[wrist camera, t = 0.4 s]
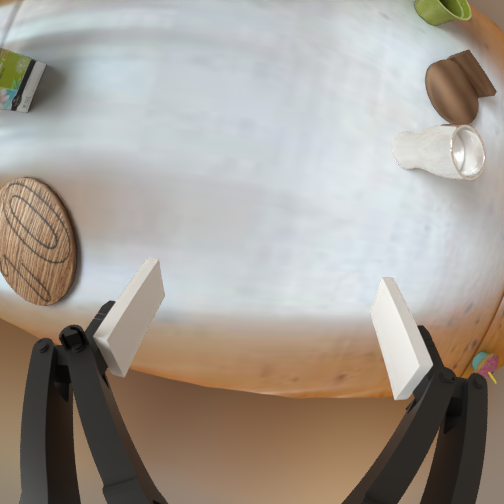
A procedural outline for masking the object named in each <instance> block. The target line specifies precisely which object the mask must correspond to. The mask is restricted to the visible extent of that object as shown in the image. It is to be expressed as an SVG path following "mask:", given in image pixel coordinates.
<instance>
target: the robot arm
mask: <svg viewBox="0 0 504 504" xmlns="http://www.w3.org/2000/svg"><path fill="white" fill-rule="evenodd" d="M164 297H165V293H164V288H163V282H162V276H161V269H160V263H159V259H153V258H147V259H146V261H145V262H144V263H143V265H142V266H141V267H140V269H139V270H138V271H137V273H136V274H135V275H134V277H133V278H132V280H131V281H130V282H129V284H128V285H127V287H126V288H125V289H124V291H123V292H122V294H121V295H120V297H119V298H118V300H117V301H109V302H107V303H106V304H104V305H103V306H102V307H101V309H100V310H99V312H98V314H97V315H96V316H95V317H94V319H93V320H92V322H91V323H90V325H89V326H88V328H87V329H86V331H85V332H84V331H83V329H82V327H80V326H79V325H70V326H68V327H66V328H64V329H63V330H62V331H61V333H60V335H59V340H60V341H61V343H62V345H54V343H53V341H52V340H51V339H49V338H43V339H40V340H39V341H37V342H36V343H35V345H34V347H33V350H32V355H31V359H30V364H29V370H28V375H27V382H26V388H25V395H24V403H23V412H22V424H21V443H20V468H21V488H22V493H21V497H20V502H19V504H81V502H80V495H79V489H78V482H77V474H76V465H75V454H74V439H73V392H74V396H75V400H76V404H77V408H78V412H79V415H80V418H81V422H82V426H83V429H84V432H85V436H86V438H87V442H88V444H89V447H90V450H91V453H92V456H93V458H94V461H95V464H96V466H97V469H98V471H99V474H100V476H101V478H102V481H103V484H104V487H103V494H104V497H105V499H106V501H107V503H108V504H168V503H167V502H166V500H165V498H164V497H163V496H162V495H161V493H160V492H159V491H158V489H157V488H156V486H155V485H154V483H153V481H152V479H151V477H150V476H149V474H148V472H147V470H146V468H145V466H144V465H143V462H142V461H141V458H140V456H139V454H138V452H137V450H136V448H135V446H134V444H133V442H132V440H131V437H130V435H129V433H128V431H127V429H126V426H125V424H124V422H123V419H122V417H121V414H120V412H119V409H118V406H117V404H116V401H115V399H114V396H113V393H112V390H111V388H110V385H109V382H108V379H107V376H106V374H105V371H106V369H107V368H109V370H110V372H111V374H114V375H117V376H121V377H125V375H126V373H127V371H128V369H129V367H130V364H131V362H132V360H133V358H134V356H135V354H136V352H137V350H138V348H139V346H140V344H141V342H142V340H143V338H144V336H145V334H146V332H147V330H148V328H149V326H150V324H151V322H152V320H153V318H154V316H155V314H156V312H157V310H158V308H159V306H160V304H161V302H162V300H163V299H164ZM370 315H371V318H372V321H373V324H374V327H375V331H376V334H377V337H378V340H379V344H380V347H381V350H382V354H383V357H384V361H385V364H386V368H387V372H388V375H389V379H390V383H391V387H392V391H393V395H394V399H395V400H401V399H407V398H409V396H410V395H411V394H412V393H413V394H414V397H415V398H414V400H413V401H412V402H411V403H410V404H409V406H408V407H407V408H406V410H407V409H408V410H407V411H406V413H405V415H404V417H403V419H402V420H401V422H400V424H399V425H398V427H397V429H396V431H395V432H394V434H393V435H392V437H391V438H390V440H389V442H388V443H387V445H386V446H385V448H384V449H383V451H382V452H381V454H380V455H379V456H378V458H377V459H376V461H375V462H374V464H373V465H372V466H371V468H370V469H369V470H368V472H367V473H366V474H365V476H364V477H363V478H362V480H361V481H360V482H359V484H358V485H357V486H356V487H355V488H354V490H353V491H352V492H351V493H350V494H349V496H348V497H347V498H346V499H345V500H344V501H343V502H342V504H397V503H398V502H399V500H400V499H401V497H402V496H403V494H404V493H405V491H406V490H407V488H408V486H409V485H410V483H411V481H412V480H413V478H414V476H415V475H416V473H417V471H418V469H419V467H420V466H421V464H422V462H423V460H424V458H425V456H426V454H427V453H428V451H429V449H430V446H431V444H432V442H433V440H434V438H435V436H436V434H437V431H438V429H439V427H440V429H439V434H438V439H437V444H436V449H435V453H434V458H433V462H432V466H431V470H430V474H429V477H428V480H427V484H426V487H425V491H424V493H423V496H422V499H421V502H420V504H475V502H476V498H477V494H478V489H479V485H480V479H481V474H482V468H483V460H484V453H485V443H486V431H487V409H488V408H487V405H488V398H487V396H488V394H487V382H486V380H485V378H484V377H483V376H482V375H480V374H478V373H473V374H471V375H470V376H469V378H468V379H464V378H459V377H456V375H455V374H454V372H453V371H452V370H451V369H449V368H446V367H444V365H443V363H442V360H441V358H440V356H439V353H438V351H437V349H436V347H435V344H434V342H433V341H432V338H431V335H430V333H429V332H428V331H427V329H426V328H425V327H424V326H423V325H422V326H417V325H416V323H415V321H414V319H413V316H412V314H411V312H410V310H409V308H408V306H407V304H406V302H405V300H404V298H403V296H402V294H401V292H400V290H399V288H398V286H397V284H396V282H395V280H394V278H388V277H382V279H381V282H380V285H379V288H378V291H377V294H376V297H375V299H374V302H373V305H372V308H371V310H370Z"/></svg>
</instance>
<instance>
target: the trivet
mask: <svg viewBox="0 0 504 504" xmlns="http://www.w3.org/2000/svg"><path fill="white" fill-rule="evenodd" d="M76 267H77V246H76V241H75V235H74V230H73V227H72V224H71V221H70V219H69V216H68V213H67V211H66V209H65V207H64V206H63V204H62V202H61V201H60V199H59V197H58V196H57V195H56V194H55V193H54V191H53V190H52V189H51V188H50V187H49V186H48V185H47V184H45V183H43V182H41V181H40V180H38V179H35V178H27V177H24V178H19V179H16V180H13V181H10V182H9V183H8V184H7V185H5V186H4V187H3V188H2V189H1V191H0V271H1V273H2V275H3V277H4V278H5V280H6V281H7V283H8V284H9V285H10V286H11V288H12V289H13V290H14V291H15V292H16V293H17V294H18V295H20V296H21V297H22V298H23V299H25V300H26V301H29V302H31V303H33V304H36V305H46V306H47V305H50V304H53V303H56V302H57V301H58V300H59V299H60V298H61V297H62V296H64V295H65V294H66V293H67V292H68V291H69V289H70V287H71V285H72V283H73V281H74V277H75V272H76Z"/></svg>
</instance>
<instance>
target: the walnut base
mask: <svg viewBox="0 0 504 504" xmlns="http://www.w3.org/2000/svg"><path fill="white" fill-rule="evenodd" d="M425 84H426V90H427V93H428V96H429V99H430V101H431V103H432V105H433V107H434V108H435V110H436V111H437V112H438V113H439V115H440V116H441V117H442V118H444V119H445V120H446V121H448V122H450V123H452V124H468V123H470V122H472V121H473V120H474V119H475V117H476V115H477V111H478V98H480V97H487V96H494V95H495V93H496V90H495V88H494V86H493V85H492V83H491V82H490V80H489V78H488V77H487V75H486V74H485V72H484V71H483V69H482V68H481V66H480V65H479V63H478V62H477V60H476V59H475V57H474V56H473V55H472V53H471V52H470V50H466V51H463V52H460V53H458V54H455V55H452V56H450V57H449V58H448V59H447V60H440V61H438V62H435V63H433V64H431V65H430V66H429V68H428V69H427V72H426V77H425Z"/></svg>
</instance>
